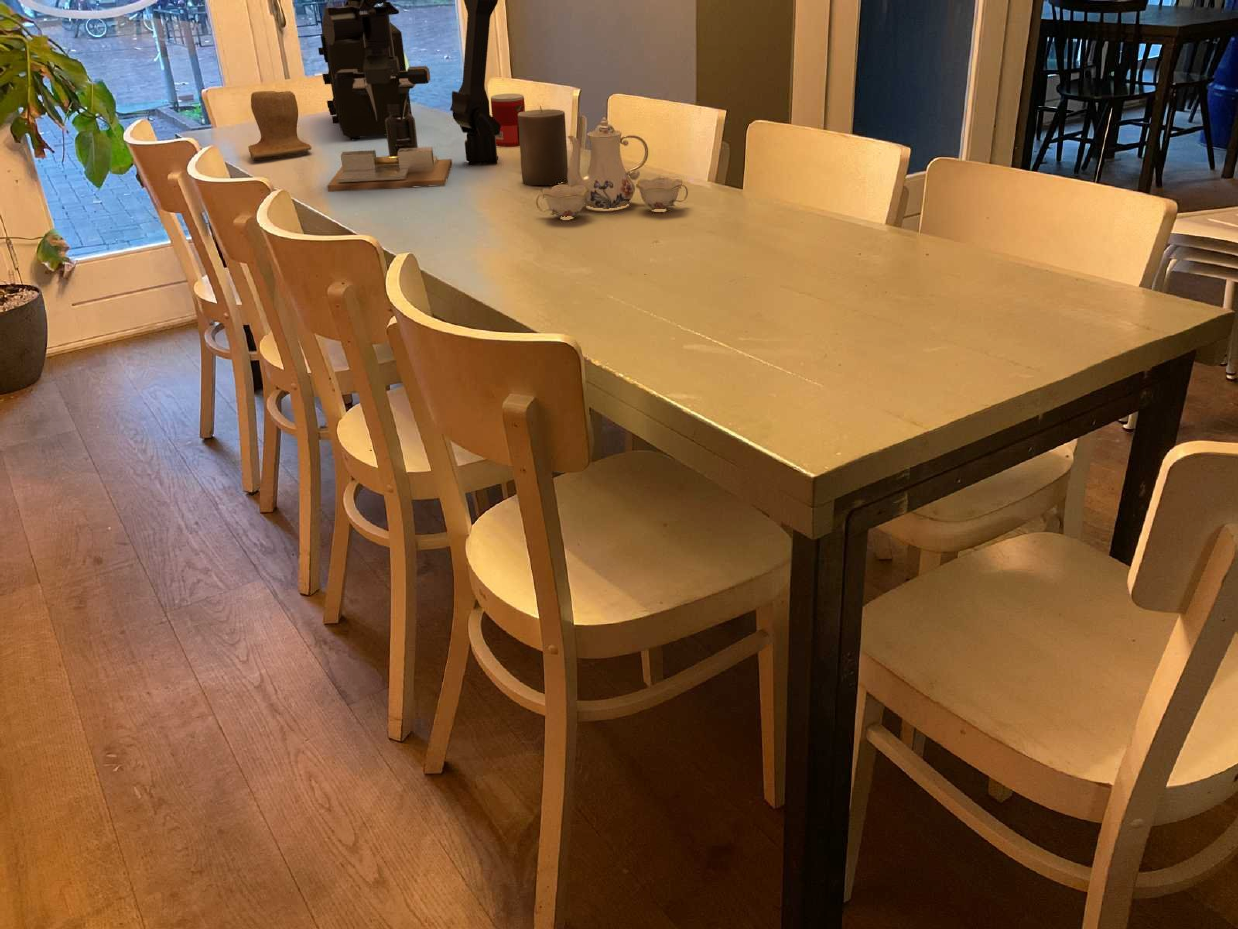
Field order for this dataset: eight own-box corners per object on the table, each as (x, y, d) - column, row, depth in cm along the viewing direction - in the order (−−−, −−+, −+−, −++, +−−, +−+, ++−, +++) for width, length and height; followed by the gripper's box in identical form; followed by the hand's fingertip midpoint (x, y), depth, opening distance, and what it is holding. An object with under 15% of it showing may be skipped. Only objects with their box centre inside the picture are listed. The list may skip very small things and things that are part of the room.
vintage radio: (329, 118, 287) (313, 22, 275) (398, 112, 291) (386, 17, 279) (336, 143, 255) (319, 35, 243) (414, 136, 260) (401, 30, 248)
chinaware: (546, 237, 182) (542, 144, 172) (527, 205, 195) (522, 117, 186) (694, 221, 188) (698, 130, 179) (666, 191, 201) (668, 105, 192)
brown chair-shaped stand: (300, 147, 252) (289, 83, 245) (317, 154, 243) (306, 88, 236) (239, 156, 245) (225, 90, 237) (254, 164, 236) (240, 96, 229)
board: (452, 164, 229) (451, 158, 228) (444, 185, 212) (443, 179, 211) (344, 169, 228) (343, 164, 227) (328, 191, 211) (327, 185, 210)
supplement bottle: (403, 161, 234) (396, 106, 228) (383, 157, 238) (375, 104, 232) (425, 155, 239) (418, 101, 233) (405, 152, 242) (398, 99, 237)
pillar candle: (562, 186, 207) (558, 109, 200) (516, 185, 209) (510, 109, 202) (573, 176, 216) (570, 102, 209) (529, 175, 217) (524, 101, 210)
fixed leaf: (437, 160, 227) (435, 140, 225) (433, 171, 218) (430, 150, 216) (374, 163, 227) (371, 143, 225) (367, 174, 217) (364, 153, 215)
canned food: (525, 146, 244) (522, 98, 239) (492, 147, 244) (488, 99, 239) (528, 139, 251) (525, 92, 246) (496, 140, 251) (492, 93, 246)
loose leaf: (411, 167, 221) (409, 148, 219) (405, 179, 211) (402, 159, 209) (346, 170, 220) (343, 151, 218) (337, 182, 211) (334, 162, 209)
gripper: (323, 46, 198) (337, 129, 206) (419, 42, 199) (429, 125, 207) (334, 40, 208) (346, 119, 216) (425, 36, 209) (434, 115, 216)
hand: (388, 120), depth 213 cm, fingers open, 5 cm apart
